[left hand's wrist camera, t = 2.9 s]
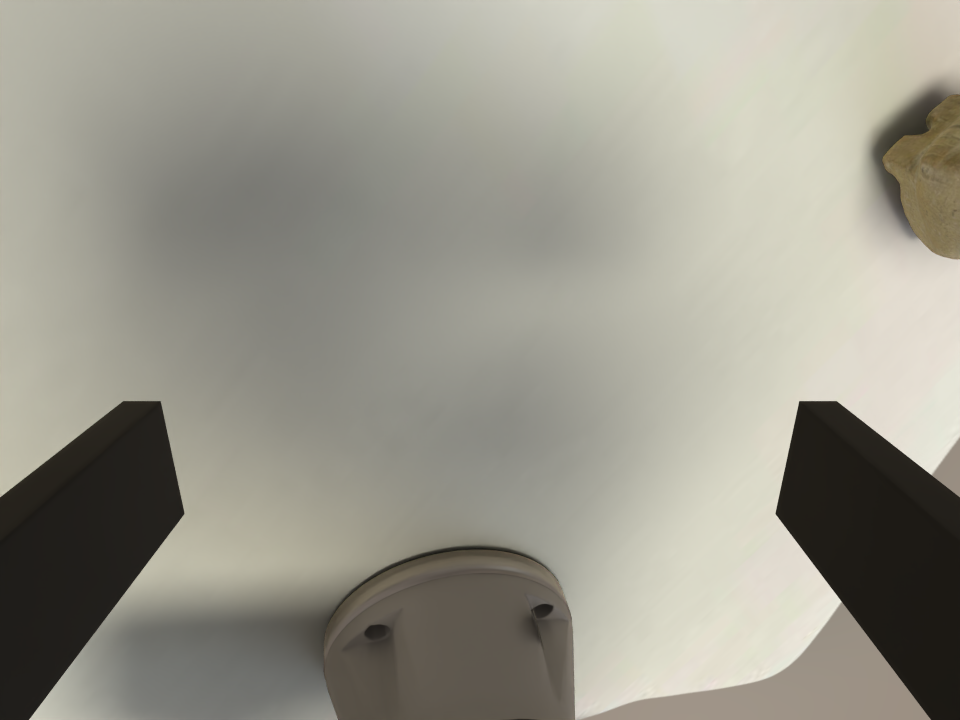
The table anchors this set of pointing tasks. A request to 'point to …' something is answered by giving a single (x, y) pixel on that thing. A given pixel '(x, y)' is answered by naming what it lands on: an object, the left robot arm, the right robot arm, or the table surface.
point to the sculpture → (932, 178)
